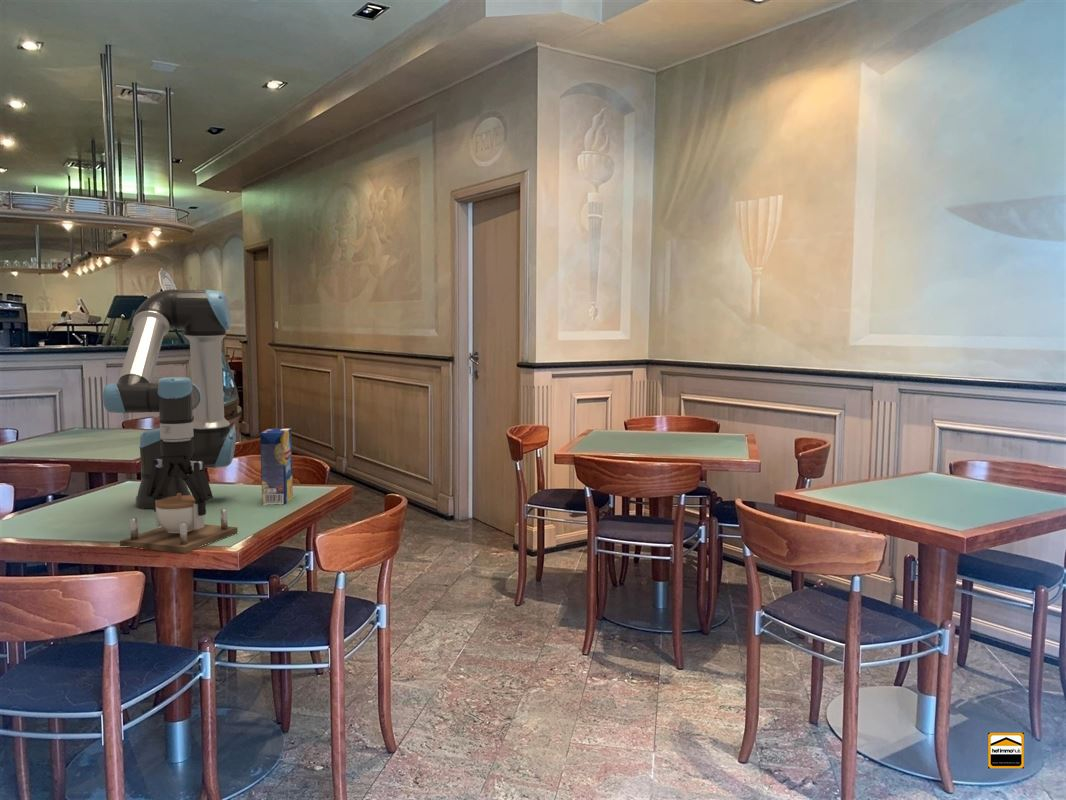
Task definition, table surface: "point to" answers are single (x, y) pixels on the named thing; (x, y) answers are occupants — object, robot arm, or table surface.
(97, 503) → the table surface
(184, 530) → the corner pegs
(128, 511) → the table surface
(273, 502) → the beverage box
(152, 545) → the peg board
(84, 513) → the table surface
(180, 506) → the lidded jar
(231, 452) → the robot arm
